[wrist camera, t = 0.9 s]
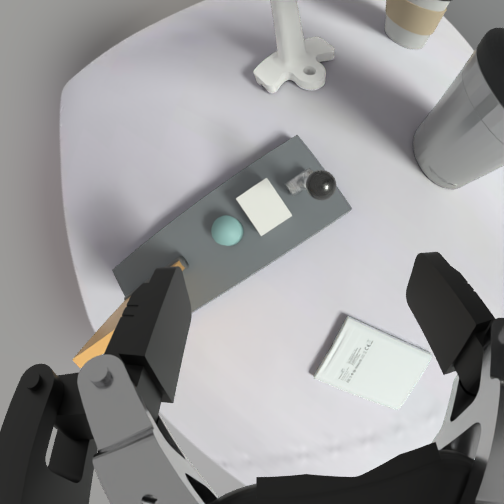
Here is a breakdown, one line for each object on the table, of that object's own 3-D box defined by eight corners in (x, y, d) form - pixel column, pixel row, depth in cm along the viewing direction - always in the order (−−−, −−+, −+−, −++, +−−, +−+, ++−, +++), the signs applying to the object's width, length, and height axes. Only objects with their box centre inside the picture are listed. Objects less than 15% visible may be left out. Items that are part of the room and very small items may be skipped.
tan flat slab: (181, 253, 30) (132, 311, 17) (190, 265, 30) (147, 329, 17) (127, 294, 31) (69, 357, 18) (135, 304, 32) (82, 371, 18)
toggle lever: (305, 165, 27) (334, 160, 17) (317, 183, 28) (350, 188, 18) (282, 180, 28) (297, 183, 18) (293, 198, 28) (315, 211, 18)
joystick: (313, 42, 30) (302, -70, 10) (350, 72, 29) (365, -49, 9) (251, 77, 31) (201, -39, 12) (285, 111, 30) (254, -20, 11)
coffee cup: (408, 60, 27) (435, -10, 12) (366, 24, 28) (375, -46, 13) (440, 47, 25) (468, -12, 11) (400, 14, 26) (415, -47, 12)
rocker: (267, 179, 28) (266, 177, 26) (291, 215, 28) (292, 215, 26) (238, 199, 28) (235, 198, 26) (262, 234, 28) (261, 236, 27)
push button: (234, 212, 29) (229, 209, 27) (249, 235, 29) (245, 234, 27) (211, 227, 30) (206, 226, 28) (225, 251, 29) (220, 251, 28)
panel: (298, 141, 30) (297, 134, 28) (349, 211, 29) (352, 208, 27) (121, 269, 34) (112, 270, 32) (156, 335, 33) (148, 338, 31)
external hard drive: (394, 405, 27) (313, 374, 30) (428, 351, 27) (346, 314, 29) (397, 411, 26) (313, 379, 28) (433, 355, 25) (348, 317, 28)
